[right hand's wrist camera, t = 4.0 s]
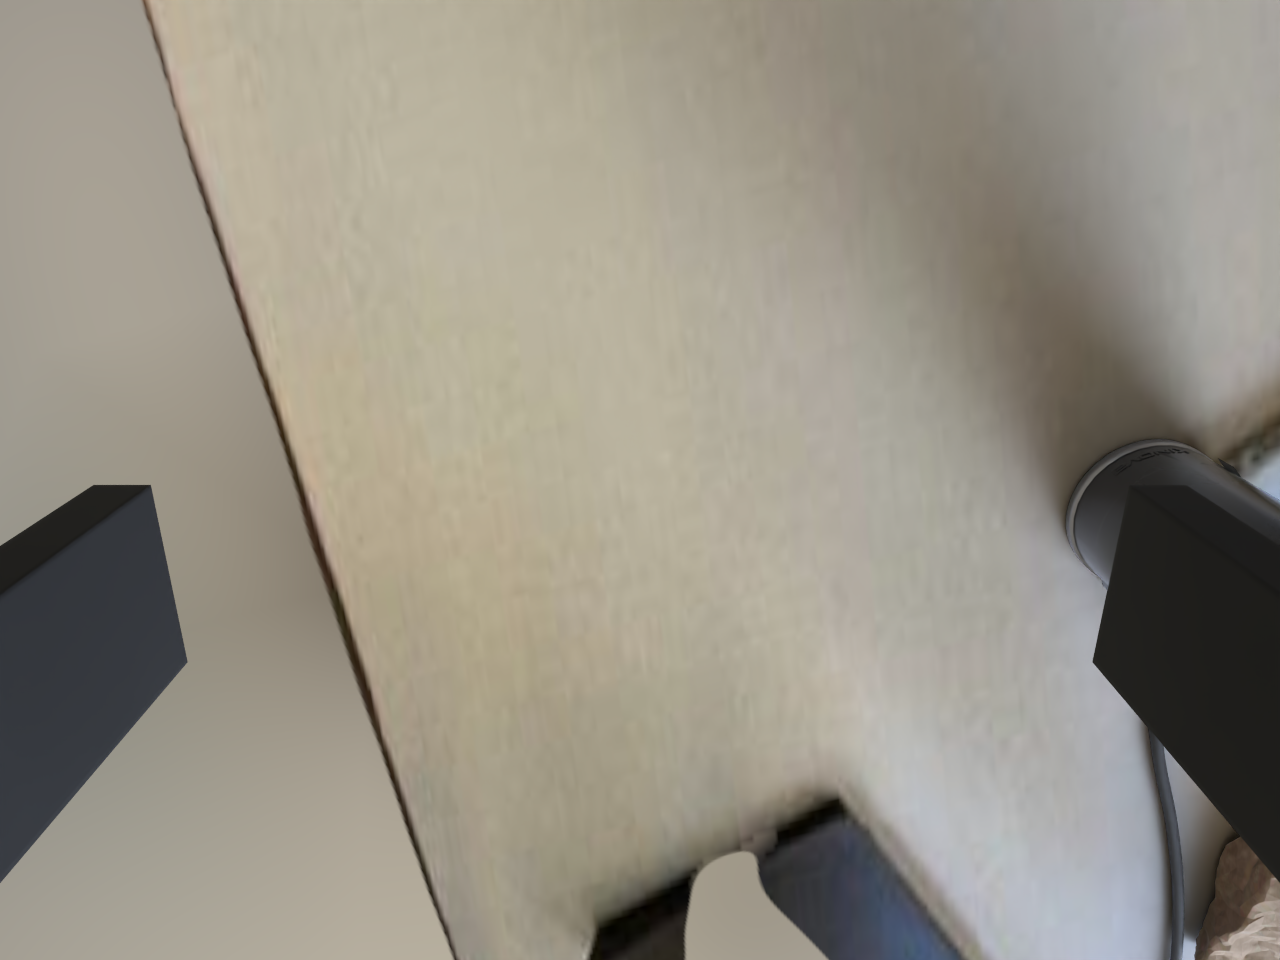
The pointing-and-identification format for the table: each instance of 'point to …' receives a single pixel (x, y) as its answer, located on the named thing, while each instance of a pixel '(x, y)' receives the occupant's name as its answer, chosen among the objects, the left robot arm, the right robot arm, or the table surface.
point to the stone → (1241, 910)
